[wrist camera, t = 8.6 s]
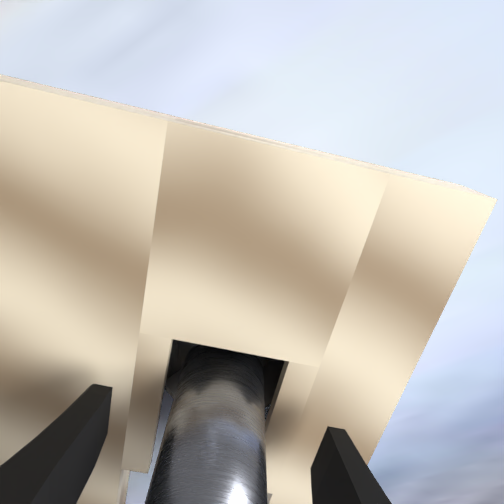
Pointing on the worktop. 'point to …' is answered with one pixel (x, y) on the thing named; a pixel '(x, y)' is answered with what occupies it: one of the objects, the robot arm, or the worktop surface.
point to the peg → (214, 427)
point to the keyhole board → (210, 275)
